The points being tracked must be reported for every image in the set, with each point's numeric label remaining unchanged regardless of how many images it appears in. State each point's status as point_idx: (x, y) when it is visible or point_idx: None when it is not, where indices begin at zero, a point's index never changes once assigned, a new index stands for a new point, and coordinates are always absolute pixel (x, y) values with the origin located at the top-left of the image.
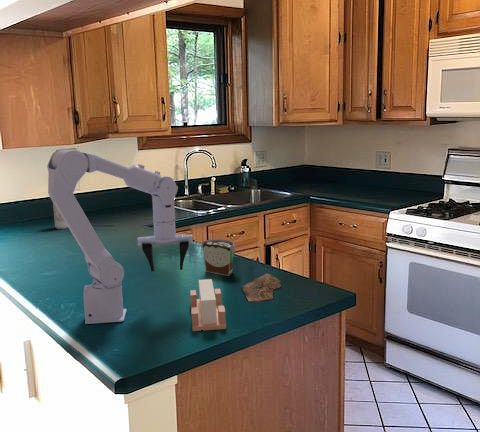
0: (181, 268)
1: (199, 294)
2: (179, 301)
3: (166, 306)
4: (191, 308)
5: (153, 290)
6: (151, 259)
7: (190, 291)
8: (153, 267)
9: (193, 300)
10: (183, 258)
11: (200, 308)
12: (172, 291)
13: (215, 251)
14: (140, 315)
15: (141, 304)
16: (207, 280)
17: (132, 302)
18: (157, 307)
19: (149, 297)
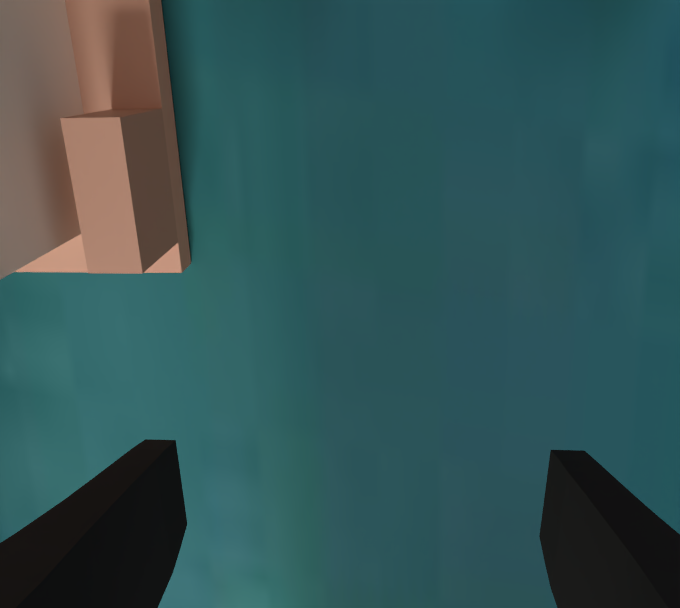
0: (145, 447)
1: (49, 179)
2: (286, 317)
3: (389, 225)
4: (152, 42)
5: (488, 565)
6: (660, 573)
7: (136, 239)
8: (571, 479)
9: (117, 113)
10: (16, 539)
11: (62, 7)
12: (348, 521)
13: None
14: (626, 40)
15: (597, 308)
16: None
17: (668, 364)
18: (465, 216)
19: (524, 441)
